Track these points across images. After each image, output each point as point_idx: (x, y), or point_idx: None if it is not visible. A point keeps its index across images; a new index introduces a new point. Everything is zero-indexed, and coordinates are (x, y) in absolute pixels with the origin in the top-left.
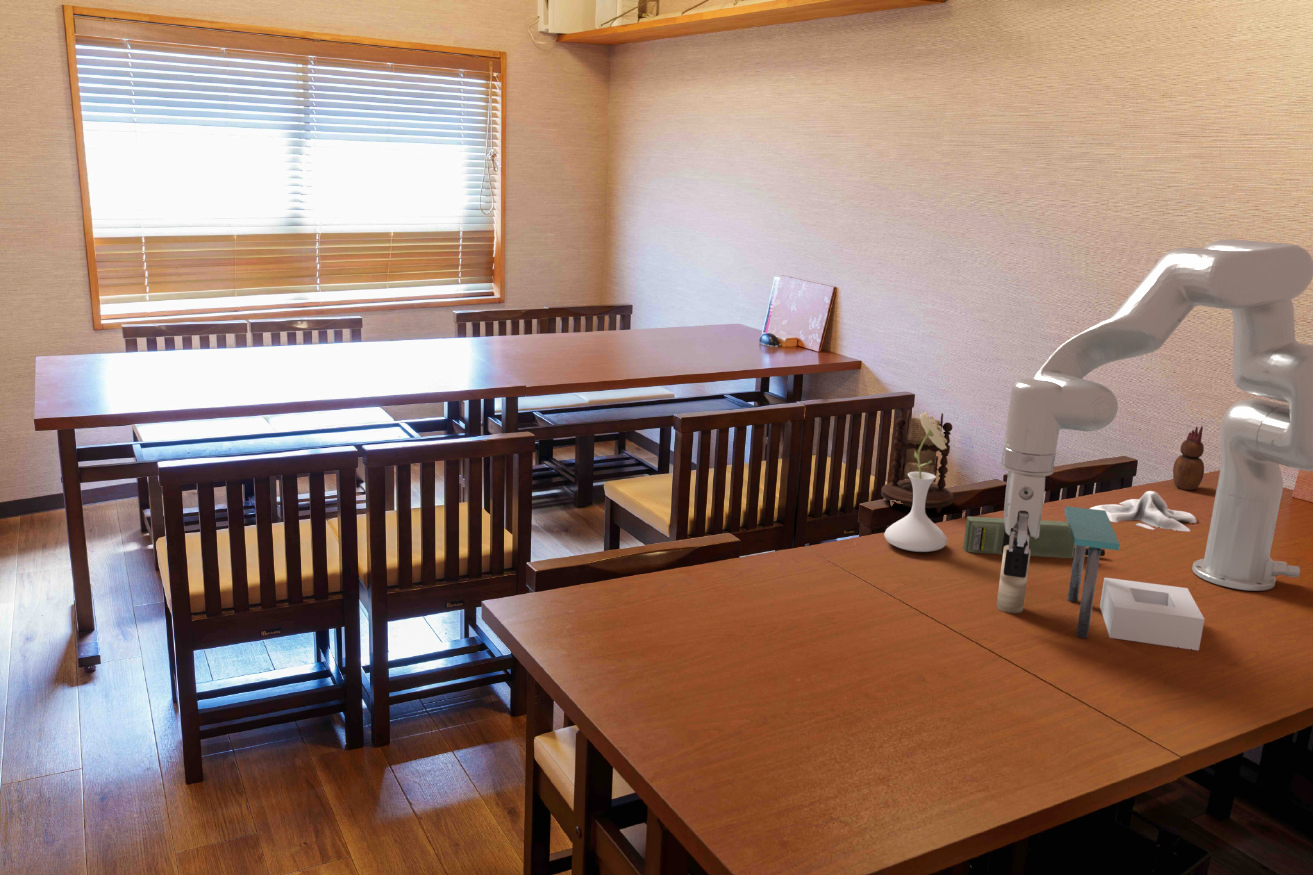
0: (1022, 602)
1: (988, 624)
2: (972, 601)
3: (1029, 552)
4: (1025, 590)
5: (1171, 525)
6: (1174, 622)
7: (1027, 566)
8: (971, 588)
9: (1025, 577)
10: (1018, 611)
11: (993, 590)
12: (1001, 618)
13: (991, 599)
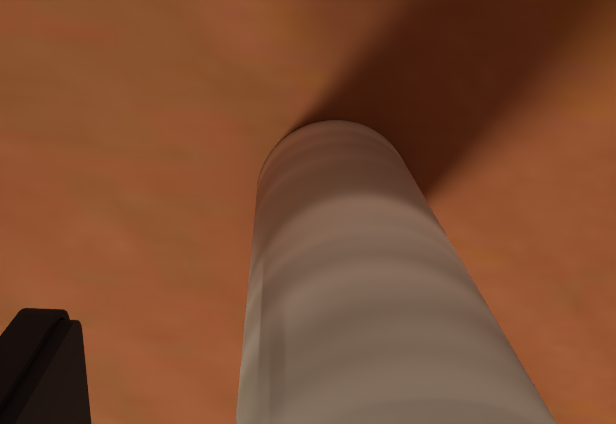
0: (390, 155)
1: (580, 310)
2: None
3: (516, 417)
4: (374, 169)
5: None
6: None
7: (467, 297)
8: (109, 365)
9: (439, 241)
10: (399, 155)
11: (84, 261)
12: (493, 246)
13: (233, 279)
